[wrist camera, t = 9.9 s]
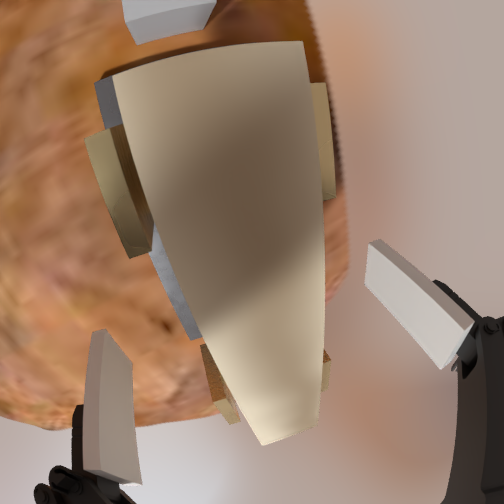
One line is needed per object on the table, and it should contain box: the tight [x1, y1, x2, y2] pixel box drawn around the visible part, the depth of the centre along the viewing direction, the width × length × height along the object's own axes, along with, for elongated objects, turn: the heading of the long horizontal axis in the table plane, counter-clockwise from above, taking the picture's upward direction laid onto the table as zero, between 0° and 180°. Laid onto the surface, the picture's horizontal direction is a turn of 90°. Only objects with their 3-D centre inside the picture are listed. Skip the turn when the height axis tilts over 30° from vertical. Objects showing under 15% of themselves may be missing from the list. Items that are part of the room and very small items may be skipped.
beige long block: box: [112, 41, 325, 446], centre depth 12 cm, size 4×20×6 cm, turn 10°
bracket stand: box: [84, 42, 336, 424], centre depth 17 cm, size 12×26×14 cm, turn 10°
